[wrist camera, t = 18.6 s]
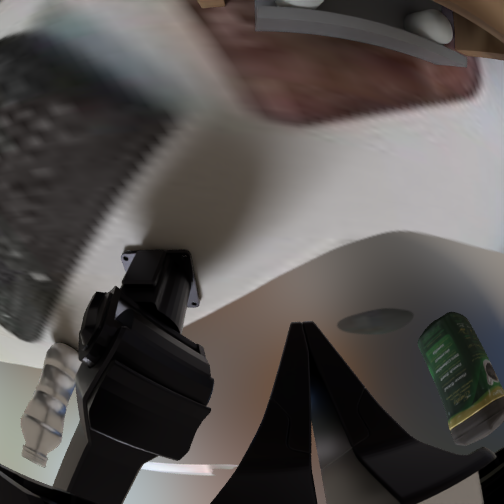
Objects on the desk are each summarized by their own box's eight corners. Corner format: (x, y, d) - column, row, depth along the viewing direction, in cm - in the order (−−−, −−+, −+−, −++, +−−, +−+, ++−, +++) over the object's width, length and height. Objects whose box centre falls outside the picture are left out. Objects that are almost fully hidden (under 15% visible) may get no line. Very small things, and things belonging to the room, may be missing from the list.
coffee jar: (407, 341, 32) (447, 458, 17) (446, 303, 28) (504, 423, 13) (437, 349, 35) (474, 444, 20) (471, 317, 31) (518, 413, 16)
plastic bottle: (60, 356, 35) (27, 458, 18) (47, 332, 31) (3, 444, 14) (92, 366, 35) (62, 476, 19) (80, 342, 32) (40, 466, 15)
